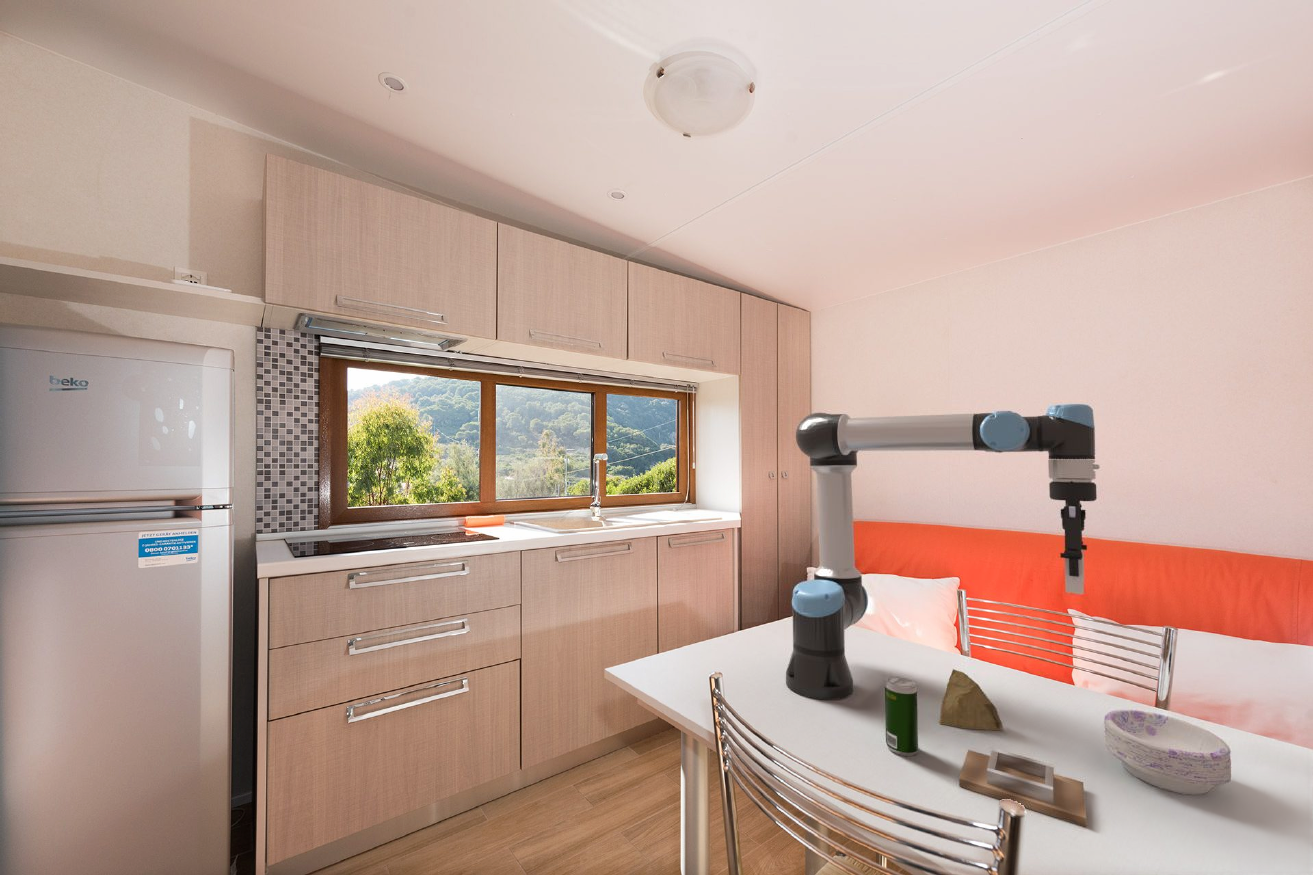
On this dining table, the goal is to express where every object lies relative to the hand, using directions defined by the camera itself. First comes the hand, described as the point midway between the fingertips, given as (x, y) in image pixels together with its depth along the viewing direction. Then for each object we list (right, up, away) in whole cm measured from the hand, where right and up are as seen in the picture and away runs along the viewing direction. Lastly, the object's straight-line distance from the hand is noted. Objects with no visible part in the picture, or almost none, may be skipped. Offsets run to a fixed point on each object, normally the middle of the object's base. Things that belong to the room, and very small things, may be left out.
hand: (1075, 586), depth 107 cm
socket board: (-26, -26, -21) cm, 42 cm away
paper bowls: (0, -27, -19) cm, 33 cm away
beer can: (-39, -27, -10) cm, 49 cm away
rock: (-21, -28, -1) cm, 35 cm away
